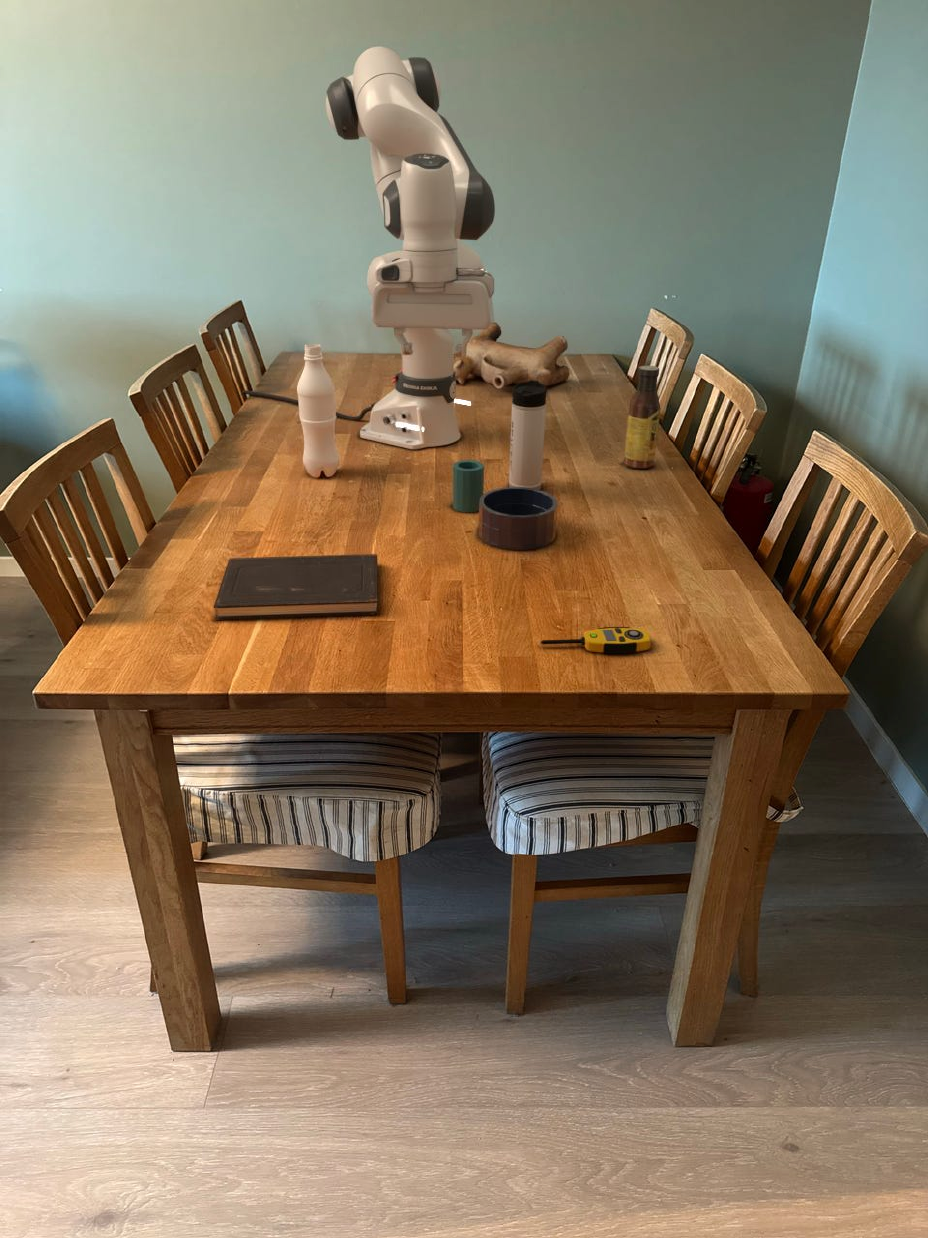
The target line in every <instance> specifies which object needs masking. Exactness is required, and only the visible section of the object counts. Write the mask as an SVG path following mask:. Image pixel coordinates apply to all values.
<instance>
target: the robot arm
mask: <svg viewBox="0 0 928 1238" xmlns="http://www.w3.org/2000/svg"><path fill="white" fill-rule="evenodd" d="M440 100H441V83H440V79H439V77H438V74H437V72H436V71H435V69H434V67H433V66H432V63H431V62H430V61H429V60H428V59H427V58H425V57H419V56H411V57H408V59H405V60H402V59H401V58H400V56H399V55H398V54H397V53H396V52H395V51H393V49H390V48H388V47H385V46H372V47H370V48H368V49H365V50H364V51H363V52H362V53H361V54H360V55H359V56H358V57H357V60H356V61H355V64H354V67H353V73H352V74H350V75H348V76H346V77H344V76H341V77H339V78H337V79H335V80H334V81H332V82H331V83H329V86H328V87H327V90H326V98H325V110H326V115H327V119H328V121H329V123H330V125H331V126H332V128H333V129H334V131H335V132H336V133H337V136H338V137H340V138H341V139H343V140H346V141H354V140H360V138H365V137H366V138H367V140H368V141H369V150H370V163H371V168H372V169H371V170H372V175H373V180H374V184H375V188H376V189H375V190H376V193H377V196H378V200H379V204H380V209H381V212H382V213H381V214H382V216H383V226H384V228H385V229H386V230H387V231H388V232H389V234H391V235H392V237H394V238H395V239H397V240H400V241H401V240H402V241H403V243H402V249H400V250H393V251H390V252H388V253H384V254H382V255H379V256H376V257H374V258H373V259H372V261H371V263H370V264H369V267H368V270H367V274H366V283H367V289H368V292H369V294H370V296H371V320H372V322H373V324H374V325H375V326H376V327H377V328H392V329H393V334H394V337H395V338H396V340H397V341H398V343H399V345H400V350H401V352H400V353H401V367H402V368H401V369H400V370H399V372H398V373H396V374H394V376H393V377H391V384H394V386H395V387H394V389H392V390H391V391H390V392H388V393H387V394H386V395H385V396H383V397H382V398H381V399H380V400H378V401H376V402H373V403H371V404H370V406H367V407H365V408H364V409H362V411H361V413H360V414H359V415H358V416H349V415H346V414H343V413H340V412H337V411H336V418H340V419H342V420H343V419H344V420H348V421H354V422H355V421H356V422H357V421H361V420H362V419H363V418H364V417H365V415H366V414H367V413H368V412H370V415H369V422H367V423H366V424H365V425H363V426H362V427H361V428H360V430H359V437H360V438H361V439H364V440H368V441H373V442H378V443H382V444H386V445H392V446H395V447H400V448H405V449H409V450H419V449H424V448H428V447H429V448H431V447H441V446H446V445H450V444H453V443H455V442H457V441H459V440H460V439H461V436H462V434H461V432H460V428H459V424H458V419H457V411H456V404H459V405H464V406H465V405H466V406H471V405H472V403H471V401H469V400H464V399H457V398H456V396H457V381H456V375H455V372H454V357H457V356H458V357H465V356H466V353H467V348H466V345H467V343H468V342H469V341H470V340H471V339H472V336H473V335H474V330H480V331H482V330H485V329H487V328H489V327H490V326H491V324H492V323H493V322H495V321H494V320H495V317H494V316H495V314H494V305H493V295H494V293H495V278H494V276H493V275H492V273H490V272H489V271H488V270H486V269H485V266H484V263H483V261H482V258H481V256H480V255H479V254H478V252H476V251H475V250H474V249H472V248H470V247H469V246H468V245H466V244H465V243H464V242H463V241H478V240H480V238H481V237H483V235H484V234H485V233H486V232H488V230H489V229H490V228H491V226H492V225H493V224H494V223H493V222H494V220H495V215H496V206H495V205H496V204H495V198H494V197H495V196H494V193H493V190H492V188H491V186H490V184H489V182H488V181H487V180H486V179H485V177H484V176H483V175H482V174H481V173H480V172H479V171H478V170H477V168H476V167H475V165H474V164H473V162H472V160H471V158H470V157H469V156H470V155H468V153H467V151H466V150H465V147H464V146H463V144H462V143H461V141H460V139H459V138H458V135H457V134H456V132H455V131H454V129H453V127H452V126H451V123H449V121H448V119H446V117H444V116H443V115H441V114H440V113H439V112H438V110H439V108H440ZM461 240H463V241H461ZM449 330H461V336H462V337H464V338H463V340H462V341H461V343H457V345H456V346H455V345H454V344H455V343H454V342H455V341H454V337H453V335H452V334H451V332H450V331H449ZM454 347H455V348H454ZM454 351H455V352H454ZM454 353H455V354H454ZM454 355H455V356H454ZM241 392H242V395H243V394H244V395H249V396H256V397H262V398H267V399H273V400H278V401H283V402H287V403H292V404H295V405H299V401H298V399H294V398H290V397H286V396H282V395H277V394H271V393H266V392H259V391H253V390H245V389H242V391H241Z"/></svg>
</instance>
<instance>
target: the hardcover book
mask: <svg viewBox="0 0 928 1238" xmlns="http://www.w3.org/2000/svg"><path fill="white" fill-rule="evenodd" d="M378 565H379V564H378V554H377V553H365V554H361V553H359V554H330V555H329V554H327V555H326V554H325V555H296V556H293V555H291V556H261V557H260V556H258V557H257V556H256V557H229V559H228V562H227V564H226V568H225V571H224V574H223V577H222V579H221V583H220V585H219V589H218V592H217V595H216V597H215V600H214V601H215V602H214V603H213V609H216V611H217V612H216V615H215V620H216V621H227V620H228V621H229V620H230V621H231V620H257V619H258V620H259V619H287V618H288V619H289V618H311V617H312V618H313V617H317V618H319V617H342V616H343V617H344V616H372V615H373V616H375V615H379V602H378V601H379V591H378V590H379V570H378V569H379V568H378V567H379V566H378Z"/></svg>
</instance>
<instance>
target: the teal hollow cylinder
mask: <svg viewBox="0 0 928 1238" xmlns="http://www.w3.org/2000/svg"><path fill="white" fill-rule="evenodd" d="M484 484H485V465H484V463H482V462H480V461H478V460H473V459H464V460H459V461H456V462H454V463H453V464H452V507H453V509H454V510H455V511H457V512H461V513H477V512H479V499H480V497H481V496H482V495H483V494H484V493H485V492H484V489H485V488H484V486H485V485H484Z"/></svg>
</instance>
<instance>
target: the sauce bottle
mask: <svg viewBox="0 0 928 1238" xmlns="http://www.w3.org/2000/svg"><path fill="white" fill-rule="evenodd" d="M637 370H638V371H637V376H638V377H637V378H638V379H637V385H636V392H635V393H634V394H633V395H632V397H631V399H630V401H629V410H628V414H627V423H626V432H625V433H626V434H625V443H624V453H623V455H624V459H623V463H624V465H625V466H626V467H629V468H632V469H638V470H643V469H649V468H651V467H652V466H653V465H654V462H655V461H654V460H655V458H656V452H657V451H656V450H657V441H658V432H659V425H660V417H661V404H660V400H659V395H658V377H659V375H660V367H658V366H655V365H641V366H638V369H637Z"/></svg>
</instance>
